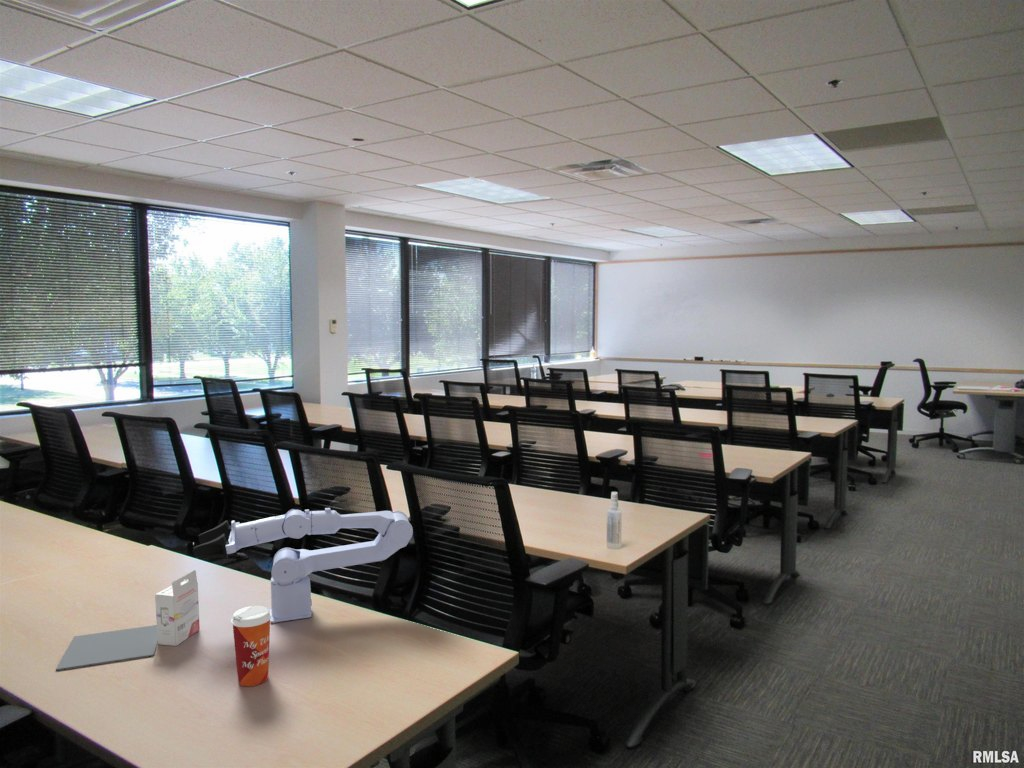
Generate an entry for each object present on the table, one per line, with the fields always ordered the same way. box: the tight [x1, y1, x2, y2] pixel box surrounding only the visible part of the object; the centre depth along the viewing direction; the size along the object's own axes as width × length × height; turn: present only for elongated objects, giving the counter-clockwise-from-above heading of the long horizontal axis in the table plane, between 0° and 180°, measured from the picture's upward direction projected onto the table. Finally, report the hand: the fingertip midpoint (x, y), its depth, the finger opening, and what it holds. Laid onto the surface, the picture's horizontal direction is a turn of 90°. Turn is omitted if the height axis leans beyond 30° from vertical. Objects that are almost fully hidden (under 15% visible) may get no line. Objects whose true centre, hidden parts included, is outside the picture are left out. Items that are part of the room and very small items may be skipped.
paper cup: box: [230, 605, 272, 688], centre depth 136 cm, size 8×8×14 cm
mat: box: [55, 624, 158, 672], centre depth 151 cm, size 18×16×1 cm
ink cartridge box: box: [154, 569, 201, 647], centre depth 155 cm, size 9×5×15 cm, turn 169°
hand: (196, 545), depth 161 cm, fingers open, 7 cm apart
